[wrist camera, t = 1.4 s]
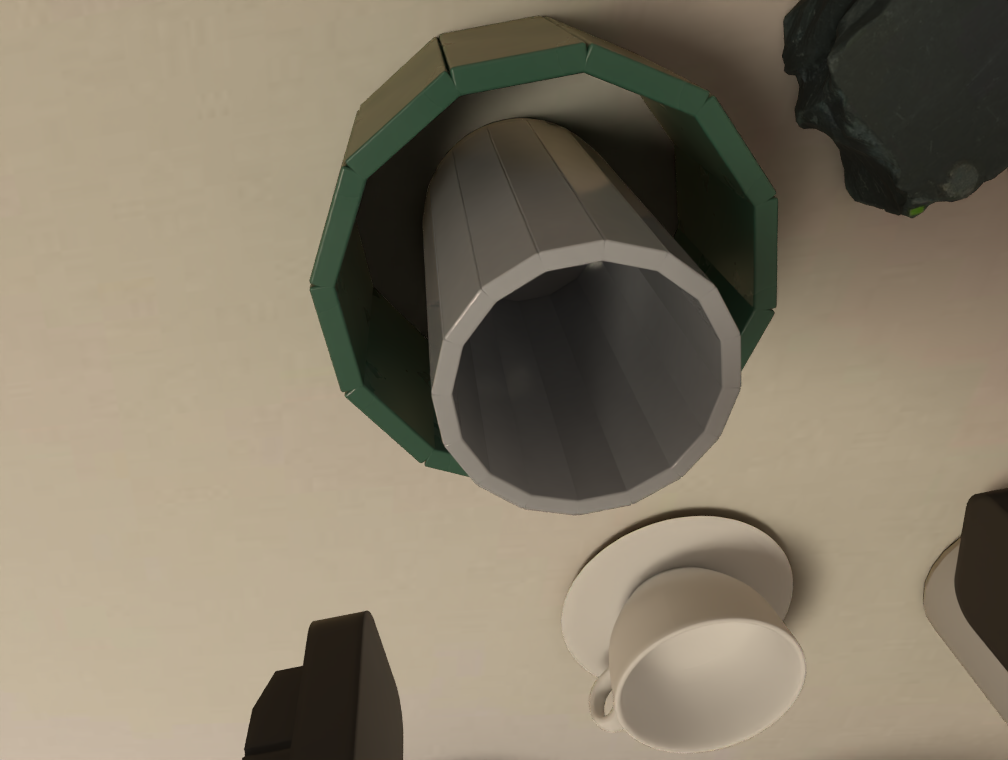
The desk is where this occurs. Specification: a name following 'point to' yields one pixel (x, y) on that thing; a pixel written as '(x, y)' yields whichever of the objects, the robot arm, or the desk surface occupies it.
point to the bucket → (498, 64)
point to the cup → (963, 632)
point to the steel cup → (566, 326)
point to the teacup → (687, 633)
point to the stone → (904, 94)
